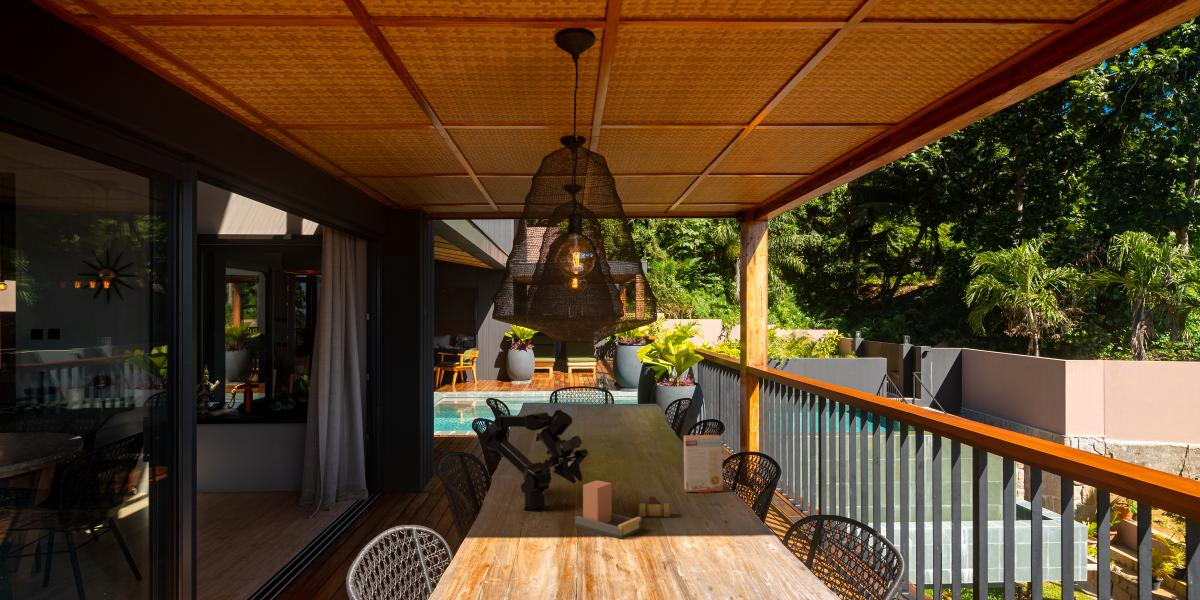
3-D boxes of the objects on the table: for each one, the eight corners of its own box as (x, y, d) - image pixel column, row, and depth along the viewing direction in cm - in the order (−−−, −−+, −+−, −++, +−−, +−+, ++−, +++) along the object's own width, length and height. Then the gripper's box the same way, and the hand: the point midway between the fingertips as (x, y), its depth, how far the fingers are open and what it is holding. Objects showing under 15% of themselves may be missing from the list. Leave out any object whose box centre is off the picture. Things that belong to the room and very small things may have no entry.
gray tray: (575, 526, 206) (575, 513, 206) (595, 518, 214) (595, 506, 214) (621, 539, 195) (621, 525, 195) (640, 530, 203) (640, 517, 203)
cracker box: (719, 488, 250) (719, 434, 250) (722, 492, 244) (722, 437, 244) (683, 488, 250) (683, 434, 250) (685, 493, 244) (685, 437, 244)
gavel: (638, 491, 236) (666, 491, 235) (638, 504, 235) (666, 504, 235) (639, 504, 215) (669, 505, 214) (639, 519, 215) (669, 519, 214)
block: (583, 522, 206) (583, 484, 206) (597, 517, 212) (597, 480, 212) (597, 526, 203) (597, 488, 203) (611, 520, 208) (611, 483, 208)
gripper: (546, 432, 209) (572, 472, 202) (584, 424, 223) (609, 461, 216) (529, 453, 214) (553, 493, 207) (567, 444, 228) (591, 481, 221)
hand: (578, 481), depth 212 cm, fingers open, 3 cm apart
